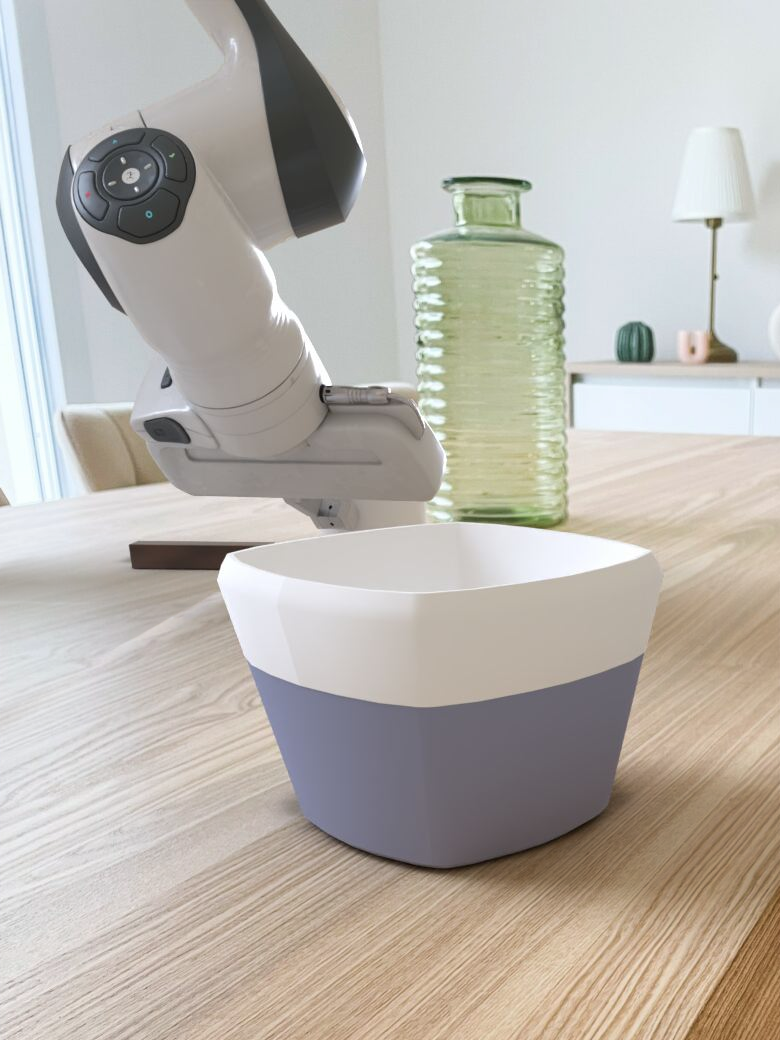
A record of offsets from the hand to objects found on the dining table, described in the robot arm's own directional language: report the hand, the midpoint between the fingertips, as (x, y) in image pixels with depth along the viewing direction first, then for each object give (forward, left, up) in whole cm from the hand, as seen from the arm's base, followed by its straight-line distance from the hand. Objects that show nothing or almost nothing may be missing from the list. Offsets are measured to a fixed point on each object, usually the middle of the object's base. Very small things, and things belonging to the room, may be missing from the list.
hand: (339, 522), depth 97 cm
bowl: (+17, -46, -6) cm, 49 cm away
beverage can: (+1, +4, -6) cm, 7 cm away
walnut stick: (-15, +12, -6) cm, 20 cm away
